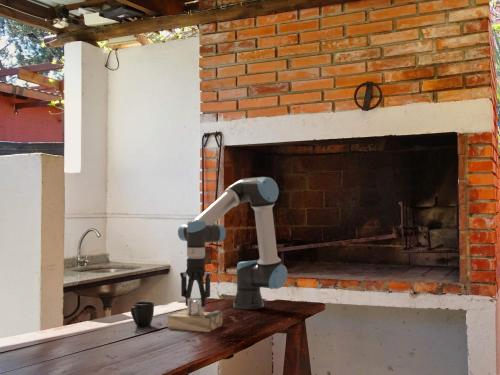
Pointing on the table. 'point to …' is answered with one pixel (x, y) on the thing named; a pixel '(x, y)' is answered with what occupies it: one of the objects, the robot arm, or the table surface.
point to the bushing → (194, 308)
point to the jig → (195, 321)
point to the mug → (142, 313)
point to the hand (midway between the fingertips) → (195, 314)
